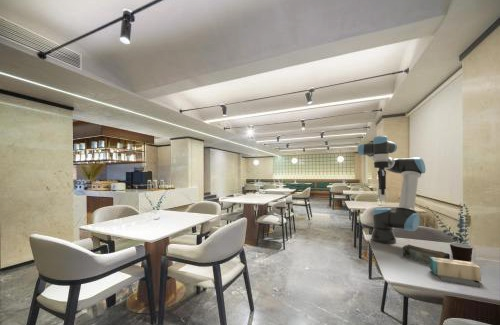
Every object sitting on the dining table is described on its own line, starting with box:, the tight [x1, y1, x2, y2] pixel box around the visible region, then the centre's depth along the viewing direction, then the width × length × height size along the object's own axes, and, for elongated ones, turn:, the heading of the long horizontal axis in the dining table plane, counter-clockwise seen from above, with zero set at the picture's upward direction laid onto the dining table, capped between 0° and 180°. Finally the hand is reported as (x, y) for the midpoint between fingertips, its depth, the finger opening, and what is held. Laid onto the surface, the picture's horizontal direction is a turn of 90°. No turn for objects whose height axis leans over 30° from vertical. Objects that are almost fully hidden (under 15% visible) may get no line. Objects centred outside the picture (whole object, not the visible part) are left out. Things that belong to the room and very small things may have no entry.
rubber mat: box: [429, 265, 480, 288], centre depth 98 cm, size 16×12×1 cm
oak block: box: [429, 257, 482, 282], centre depth 98 cm, size 6×6×16 cm
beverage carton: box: [402, 244, 451, 265], centre depth 116 cm, size 8×19×7 cm, turn 32°
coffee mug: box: [449, 242, 474, 262], centre depth 112 cm, size 12×9×10 cm
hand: (382, 200), depth 126 cm, fingers closed
